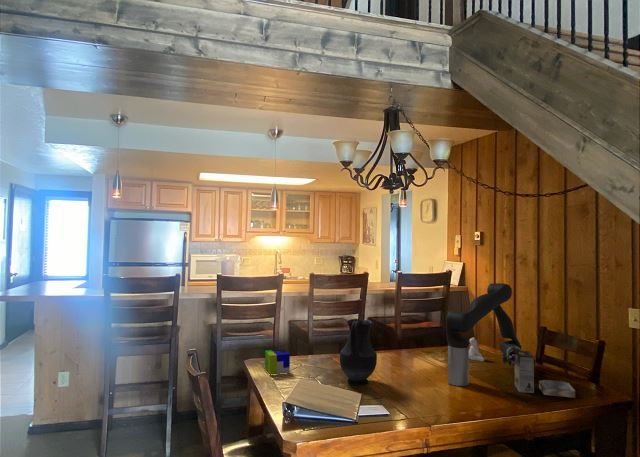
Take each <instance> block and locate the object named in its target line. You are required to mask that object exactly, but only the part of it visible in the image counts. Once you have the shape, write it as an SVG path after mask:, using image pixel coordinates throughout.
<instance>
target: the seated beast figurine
mask: <svg viewBox="0 0 640 457" xmlns="http://www.w3.org/2000/svg"><path fill="white" fill-rule="evenodd" d="M468 342H469V345H470V346H469V360H472V361H475V362H476V361H477V362H481V363H482V362H484V361H485V358H484V357H483V355H482V354H481V353H480V352H479V348H478V345H479V344H478V340H477V339H476V337H471V338H469V340H468Z"/></svg>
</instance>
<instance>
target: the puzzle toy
mask: <svg viewBox="0 0 640 457" xmlns="http://www.w3.org/2000/svg"><path fill="white" fill-rule="evenodd" d="M290 355H291V354H290V353H289V352H288V351H287V350H286V349H284V348H281V349H280V348H279V349H272V350H270V349H269V350H264V370H265V369H266V371H267V372H268V373H269V374H270V375H271V374H280V373H289V372H291V371H290V369H291V365H290V364H291V356H290ZM266 371H265V372H266ZM267 372H266V373H267ZM268 373H267V374H268Z"/></svg>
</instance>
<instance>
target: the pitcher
mask: <svg viewBox="0 0 640 457" xmlns="http://www.w3.org/2000/svg"><path fill="white" fill-rule="evenodd" d="M346 323H347V325H348V327H349V336H348V339H347V341H346V343H345V345H344V347H343V348H341V350H339V351H340V352H339V365H340V368H341V370H342V372H343V374H345V375H346V377H347V383H348V384H349V385H352V386H365V385H368V384H369V380H368V378H369V377H371V375H372V374H373V373H374V372H375V370H376V366H377V361H378V355H377V354H378V353H377V352H376V351H375V349H374V348H373V346H372V343H371V341H370V329H371V327H372V325H373V322H372V321H371V320H370V319H365V320H364V319H359V318H352V319H347V320H346Z"/></svg>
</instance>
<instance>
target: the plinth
mask: <svg viewBox="0 0 640 457" xmlns="http://www.w3.org/2000/svg"><path fill="white" fill-rule="evenodd" d="M538 388H539V390H540V391H541V393H542V394H543V395H544V396H554V397H565V398H566V397H567V398H574V399H576V390H575V388H574V387H573V386H572V385H571V384H570V383H569V382H565V381H561V380H559V381H558V380H550V379H549V380H548V379H542V380H538Z"/></svg>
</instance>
